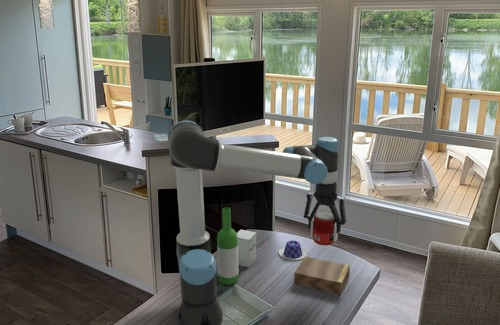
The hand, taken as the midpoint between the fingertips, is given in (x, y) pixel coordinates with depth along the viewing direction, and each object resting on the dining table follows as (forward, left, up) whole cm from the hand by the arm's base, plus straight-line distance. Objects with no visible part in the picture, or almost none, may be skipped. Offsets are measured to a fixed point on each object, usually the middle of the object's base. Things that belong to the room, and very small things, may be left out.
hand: (323, 237), depth 174 cm
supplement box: (-33, +1, -18) cm, 38 cm away
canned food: (0, 0, -1) cm, 1 cm away
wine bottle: (-33, -14, -18) cm, 40 cm away
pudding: (-17, +15, -19) cm, 29 cm away
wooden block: (0, 0, -18) cm, 18 cm away
